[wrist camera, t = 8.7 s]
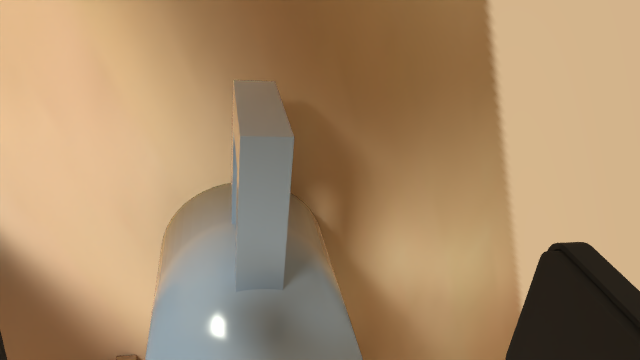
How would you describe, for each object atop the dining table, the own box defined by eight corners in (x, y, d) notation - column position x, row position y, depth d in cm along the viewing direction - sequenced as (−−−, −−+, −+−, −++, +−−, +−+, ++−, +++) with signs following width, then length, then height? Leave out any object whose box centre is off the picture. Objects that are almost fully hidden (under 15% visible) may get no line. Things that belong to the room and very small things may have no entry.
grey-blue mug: (152, 59, 22) (119, 148, 14) (342, 68, 24) (406, 152, 16) (164, 318, 28) (146, 480, 20) (315, 310, 30) (352, 459, 22)
